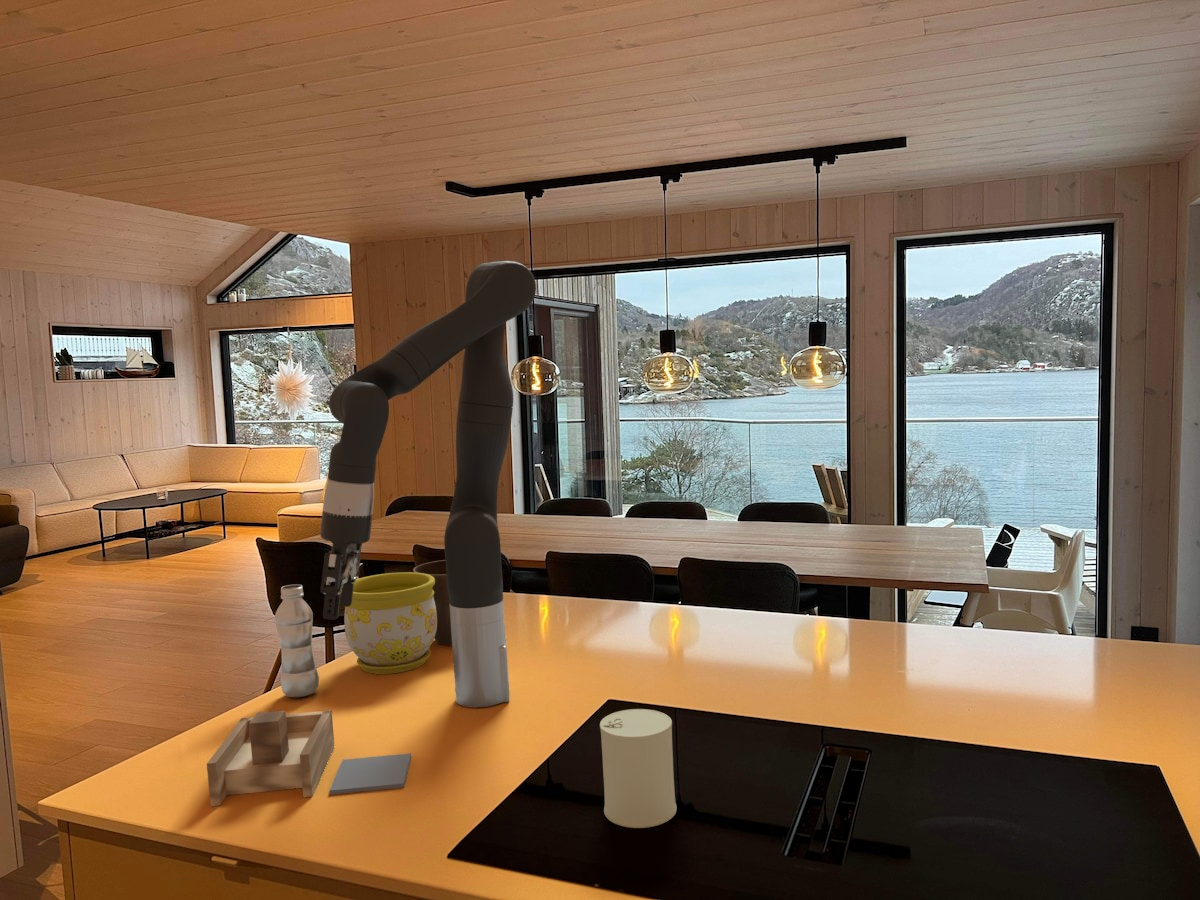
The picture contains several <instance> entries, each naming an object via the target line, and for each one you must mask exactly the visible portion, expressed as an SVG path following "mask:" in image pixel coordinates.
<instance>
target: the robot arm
mask: <svg viewBox="0 0 1200 900" xmlns="http://www.w3.org/2000/svg"><path fill="white" fill-rule="evenodd" d="M536 293H537V284H536V279H535V276H534V274H533V272H531V270H530V269H529V268H528V267H527V266H525V265H524V264H522V263H519V262H517V261H510V260H501V261H489V262H485V263H480V264H479V265H478V266H476V267H475V268H474V269H473V270H472V271H471V273H470V275H469V276H468V279H467V283H466V287H465V301H464V302H462V304H460V305H459V306H458V307H456V308H454V309H452V310H451V311H450V312H447V313H446V314H443V316H441V317H439V318H437V319H435V320H433V321H431V322H429V323H427V324H425V325H424V326H422V327H421V328H418V329H416V330H415V331H414V332H412V333H411V334H409V335H408V336H406V337H404V339H403V340H401V341H400V342H399V343H397V344H396V345H395V346H393V348H391V349H390V350H389V351H387V352H386V353H385V354H384V355H383V356H382V357H381V358H379V359H377V360H376V361H374V362H371V363H370V364H368V365H366V366H364V367H363V368H361V369H360V370H358V371H356V372H354V373H353V374H351V375H349V376H347V377H346V378H344V380H342V381H341V382H340V383H339V384H338V385H336V387H335V388H334V390H332V392H331V394H330V397H329V402H328V405H329V410H330V413H331V415H332V417H333V418H334V419H336V420H337V421H338V422H340V423H341V424H342V425H343V426H342V431H341V435H340V439H339V442H336V443H334V445H333V446H332V447H331V450H330V454H329V463H328V471H327V482H326V486H325V490H324V495H323V504H322V512H321V513H322V515H321V523H320V533H319V536H320V538H321V539H322V540H324V541H327V542H331V543H332V546H331V551H328V552H325V554H324V555H323V559H324V560H323V566H322V573H321V576H322V577H321V582H320V588H319V591H320V593H322V594H323V595H324V600H323V610H322V617H323V619H324V620H329V621H331V620H332V621H335V620H337V619H338V618H339V614H340V607H345V606H346V607H349V606H350V605H351V604H352V597H353V587H354V583H355V581H356V579H358V578H357V577H359V575H360V566H361V565H360V564H361V555H362V546H363V544H365V543H368V542H369V541H370V539H371V534H372V533H371V532H372V523H373V516H374V515H373V513H374V505H375V482H376V481H375V480H376V469H377V456H378V453H379V451H380V449H381V445H382V443H383V439H384V437H385V434H386V433H385V432H386V429H387V426H388V423H389V416H390V406H389V400H391V399H393V398H395V397H396V396H397V397H398V396H400V395H405V394H409V393H410V392H412V391H413V390H415V389H416V388H417V387H418V386H420V385H421V384H423V383H424V382H425V381H426V380H427V379H428V378H430V376H432V375H433V374H434V373H436V372H437V371H438V370H439V369H440V368H441V367H443V366H444V365H445V364H446V363H448V362H449V361H450V360H451V359H452V358H454V357H455V356H456V355H457V354H459V353H460V352H462V351H463V350H464V352H463V361H462V362H463V363H462V369H461V370H462V373H461V382H460V391H459V398H458V405H457V414H456V425H455V426H456V427H455V429H456V430H455V458H456V476H455V477H456V479H455V487H454V492H453V496H452V497H453V498H452V502H451V507H450V511H449V515H448V520H447V522H446V525H445V529H444V537H443V540H444V542H443V543H444V557H445V559H444V560H446V572H447V586H448V594H449V606H450V621H451V635H452V645H451V647H452V648H451V649H452V659H453V660H452V662H453V676H454V691H455V701H456V704H458V705H460V706H462V707H467V708H488V707H492V706H496V705H498V704H499V705H500V704H502V703H508V702H510V681H509V680H510V679H509V664H508V662H509V661H508V647H507V637H506V623H505V610H504V609H505V608H504V607H505V606H504V592H503V591H504V583H503V581H504V580H503V569H502V567H503V565H502V551H501V550H502V549H501V537H500V531H499V527H498V492H499V491H498V490H499V479H500V475H501V471H502V468H503V463H504V461H505V457H506V454H507V449H508V444H509V438H510V434H511V427H512V426H511V425H512V418H513V409H514V408H513V407H514V391H513V385H512V384H513V383H512V381H511V377H510V373H509V369H508V368H509V367H508V364H507V361H506V358H505V349H504V348H505V347H504V345H505V343H504V342H505V334H506V333H505V331H506V325H507V324H506V323H507V322H508V321H510V320H512V319H514V318H515V317H517V316H519V315H521V314H523V313H524V312H526V310H528V309H529V308H530V307H531V305H532V304H533V302H534V299H535V297H536ZM332 582H333V583H334V585H332V584H331V583H332ZM352 582H353V583H352Z"/></svg>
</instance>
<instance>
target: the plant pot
mask: <svg viewBox="0 0 1200 900" xmlns="http://www.w3.org/2000/svg"><path fill="white" fill-rule="evenodd" d="M413 573H424V574H428V575H431V576H433V577H434V579H435V584H434V586H433V587H432V588H433V591H434V595H433V597H434V601H435V606H436V612H437V630H436V634H435V637H434V641H435V643H437V644H439V645H443V646H452V635H451V621H450V606H449V594H448V586H447V572H446V559H443V560H435V561H431V562H426V563H422V564H419V565H417V566H414V568H413Z"/></svg>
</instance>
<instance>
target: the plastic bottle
mask: <svg viewBox="0 0 1200 900" xmlns="http://www.w3.org/2000/svg"><path fill="white" fill-rule="evenodd" d="M303 588H304V587H303V585H302V584H287V585H284V586H282V587H281V588H280V594H281V595H280V599H281V600H282V602H281V603H280V605H279V606H278V608H277V610H276V611H275V615H274V622H275V623H274V624H275V627H276V630H277V635H278V639H279V640H278V641H279V647H280V651H281V652H280V653H281V673H280V674H281V675H280V687H281V691H282V692H283V694H284V695H285V697H286V696H287V697H289V698H302V697H307V696H310V695H312V694H315V693H316V691H317V690H318V688H319V686H320V685H319V684H320V675H319V672H318V669H317V666H316V661H315V656H314V655H315V654H314V650H313V621H314V620H313V618H314V616H313V615H314V613H313V611H312V609H311V607H310V606H309V604H308V603H307V602H306V601H305V600H304V599H303V597H304V589H303Z"/></svg>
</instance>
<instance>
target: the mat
mask: <svg viewBox="0 0 1200 900" xmlns="http://www.w3.org/2000/svg"><path fill="white" fill-rule="evenodd" d="M411 760H412V752H410V753H409V752H408V753H399V754H391V755H390V754H389V755H387V754H386V755H378V756H377V755H376V756H368V757H367V756H366V757H357V758H346V759H342V760H341V762H340V765H339V767H338V768H337V772H336V775H335V777H334V779H333V782H332V784H331V786H330V788H329V795H341V794H351V793H352V794H353V793H359V792H360V793H361V791H362V792H371V791H381V790H392V789H403V788H405V785H406V780H407V778H408V777H407V776H408V774H409V769H410V765H411V762H412V761H411Z"/></svg>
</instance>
